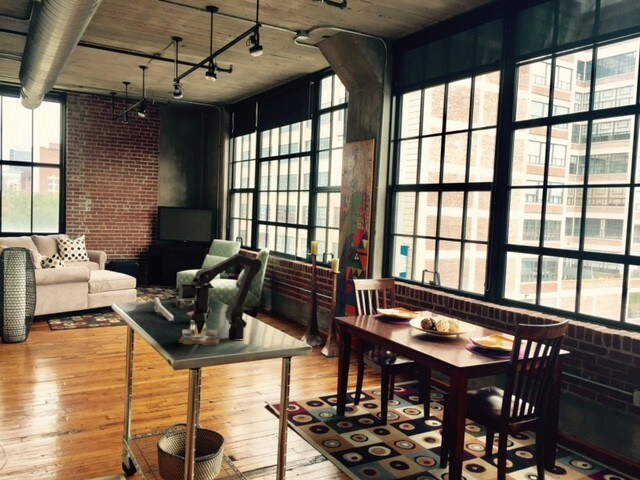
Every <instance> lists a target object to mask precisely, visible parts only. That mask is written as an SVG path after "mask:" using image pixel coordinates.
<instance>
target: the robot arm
mask: <svg viewBox="0 0 640 480" xmlns="http://www.w3.org/2000/svg"><path fill="white" fill-rule="evenodd" d="M238 264H240V265H242V266H244V267H243V277H242V280H241V282H240V285H239V288H238V289H237V290H238V291H237V294H236V295H235V298H234V301H233V303H232V304H231V305H229V304H228V305H227V307H226V310H225V312H224V314H225V316H224V317H225V320H226V321H228V324H229V325H230V326H229V328H228V340H229V339H243V337H244V338H245V336H244V334H245V333H244V332H245V328H246V327H247V321H245V319H244V318H243V317H244V305H245V302H246V300H247V296H248V294H249V291H250V289H251V285H252V283H253V280H254V278H255V277H256V276H257V275H258V274H259V272H260V270H261V269H262V266H263V264H262V261H261V259H259V258H256V257H247V256H244V255H242V254H241V253H235V254H233V255H231V256H230V257H228V258H226V259H225V260H222V261H221V262H219V263H217V264H214V265H213V266H208V267H206V268H202V269H198V270H197V271H196V273H195V276H194V277H193V279H192V280H191V281H190V283H183V282H182V283H180V286H179V289H178V291H177V292H178V293H177V294H178V296H179V298H180V299H192V298H194V297H195V296H196V300H195V301H194V303H192V304H189V305H188V304H186V305H184V306H183V307H182V308H181V310H182V312H183V314H184V315H186V313H188V312H192V311H193V312H194V313H193V314H192V315H190V321H191V320H192V321H193V322H194V323H195V327H196V326H197V330H198V334H201V332H202V329H203V327H204V324H205V323H206V324H207V323H208V320H209V318H210V317H211V316H210V315H211V313H212V308H211V307H210V306H209V303H210V299H209V297H210V289H215V288H214V286H213V285H212V283H211V282H212V281H213V280H215V278H216V277H217V276H218V275H219V274H222V273H223V272H225V271H227V270H230V269H231V268H233V267H235V266H237V265H238ZM243 340H244V339H243Z"/></svg>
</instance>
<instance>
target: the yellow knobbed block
mask: <svg viewBox="0 0 640 480" xmlns="http://www.w3.org/2000/svg"><path fill="white" fill-rule="evenodd" d="M206 325H207V323H205V324H204V327H203V329H202V332H201V334H198V330H197V326H196V325H195V329H194V331H195V333H194V335H195V336H205V334H206V327H207V326H206Z"/></svg>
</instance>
